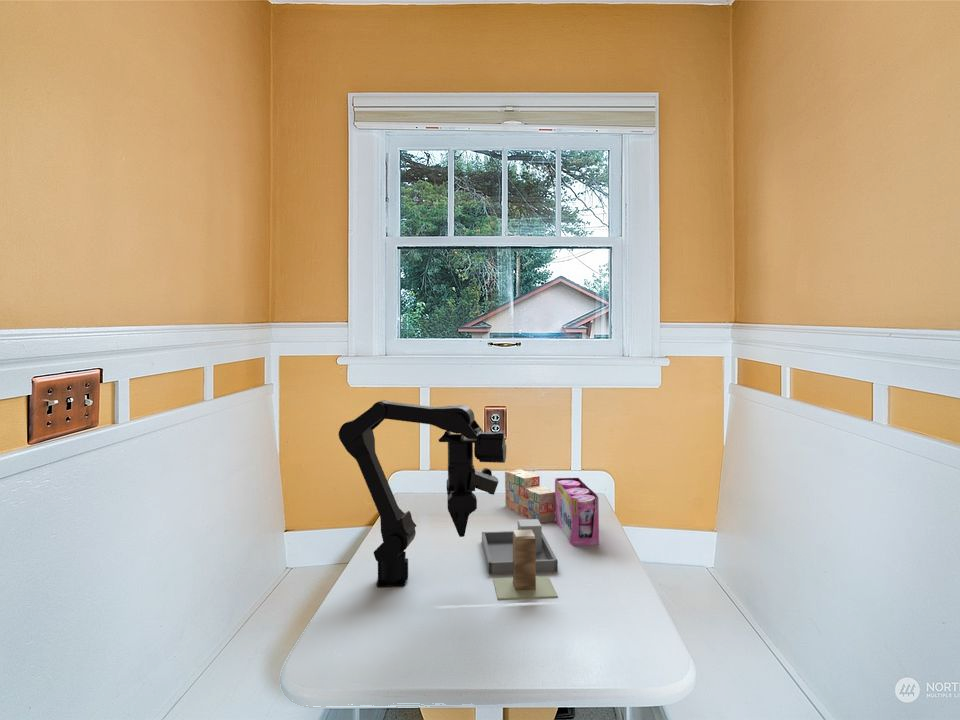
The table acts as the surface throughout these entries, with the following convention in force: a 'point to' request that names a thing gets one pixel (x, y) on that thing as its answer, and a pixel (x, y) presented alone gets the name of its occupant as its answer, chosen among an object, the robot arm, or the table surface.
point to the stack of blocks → (529, 496)
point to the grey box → (535, 527)
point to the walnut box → (524, 560)
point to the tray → (501, 554)
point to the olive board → (507, 590)
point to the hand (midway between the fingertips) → (460, 529)
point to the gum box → (577, 511)
